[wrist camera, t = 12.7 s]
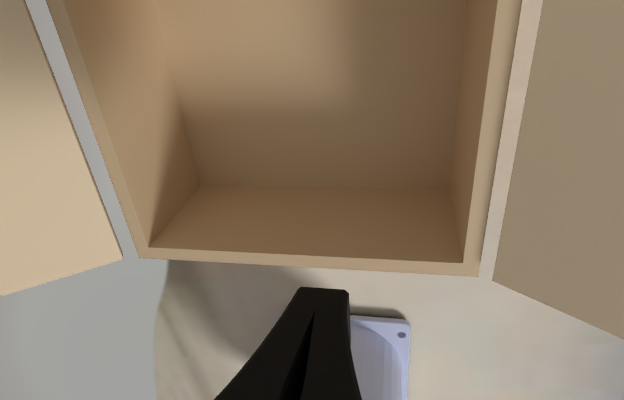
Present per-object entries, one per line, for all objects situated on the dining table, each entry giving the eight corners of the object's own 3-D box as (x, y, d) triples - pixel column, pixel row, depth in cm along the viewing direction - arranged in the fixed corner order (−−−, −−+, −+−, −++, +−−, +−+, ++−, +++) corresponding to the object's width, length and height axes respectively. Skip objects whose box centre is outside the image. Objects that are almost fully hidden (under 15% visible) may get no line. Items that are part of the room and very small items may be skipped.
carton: (459, 195, 21) (478, 276, 16) (196, 190, 23) (139, 257, 18) (497, -139, 14) (552, -186, 9) (124, -93, 17) (6, -109, 12)
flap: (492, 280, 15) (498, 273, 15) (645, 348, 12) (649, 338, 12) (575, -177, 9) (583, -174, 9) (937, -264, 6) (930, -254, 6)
